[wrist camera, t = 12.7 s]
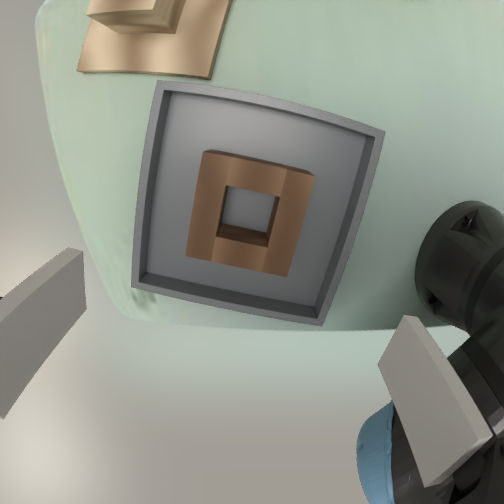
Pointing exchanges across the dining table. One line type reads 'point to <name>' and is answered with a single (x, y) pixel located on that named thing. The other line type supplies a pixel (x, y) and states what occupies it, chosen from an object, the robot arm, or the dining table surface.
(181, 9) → the stake stand
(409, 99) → the dining table surface
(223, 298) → the tray
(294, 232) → the collar
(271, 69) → the dining table surface
